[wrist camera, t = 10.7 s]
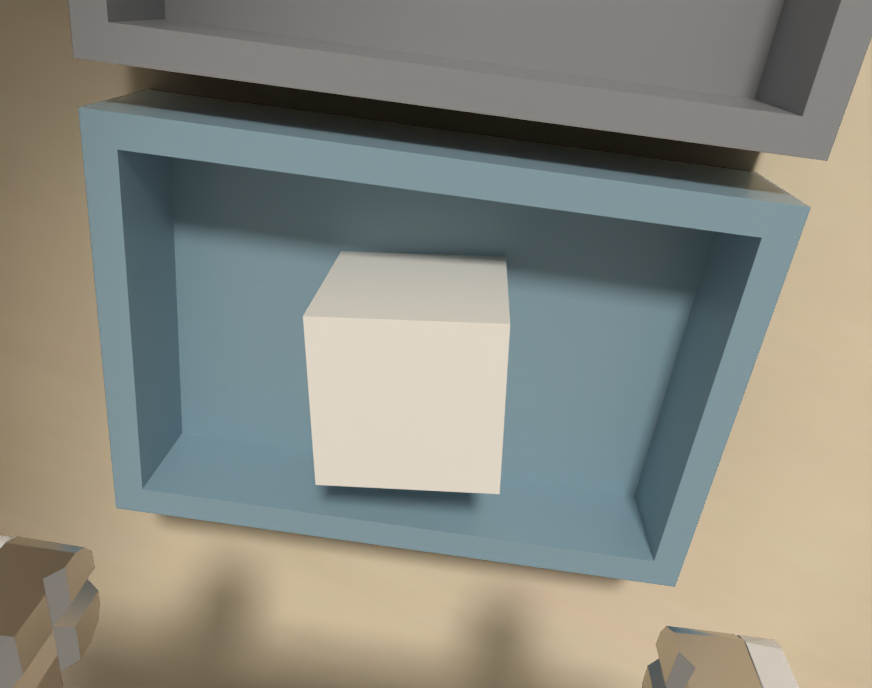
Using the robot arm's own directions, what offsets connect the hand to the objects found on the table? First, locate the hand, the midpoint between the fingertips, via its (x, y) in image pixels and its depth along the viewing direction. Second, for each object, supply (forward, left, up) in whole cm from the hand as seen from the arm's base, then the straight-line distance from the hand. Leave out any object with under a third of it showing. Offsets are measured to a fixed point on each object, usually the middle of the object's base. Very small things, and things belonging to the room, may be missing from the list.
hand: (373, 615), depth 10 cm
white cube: (+1, 0, -11) cm, 11 cm away
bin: (+1, 0, -12) cm, 12 cm away
